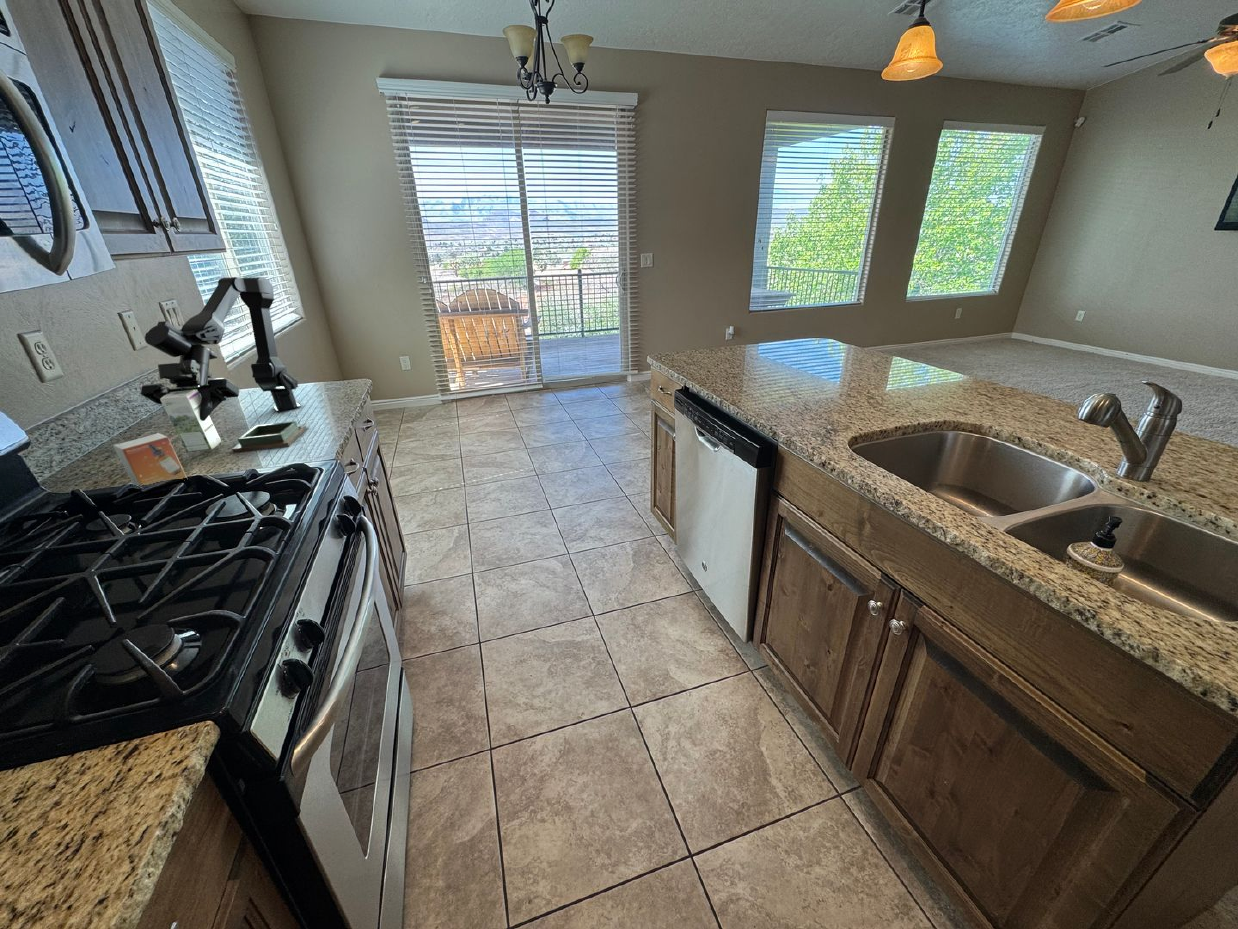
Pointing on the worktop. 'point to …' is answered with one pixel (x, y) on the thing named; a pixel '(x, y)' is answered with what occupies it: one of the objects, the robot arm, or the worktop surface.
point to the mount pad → (269, 436)
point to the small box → (150, 460)
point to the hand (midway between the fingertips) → (188, 421)
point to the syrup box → (190, 420)
